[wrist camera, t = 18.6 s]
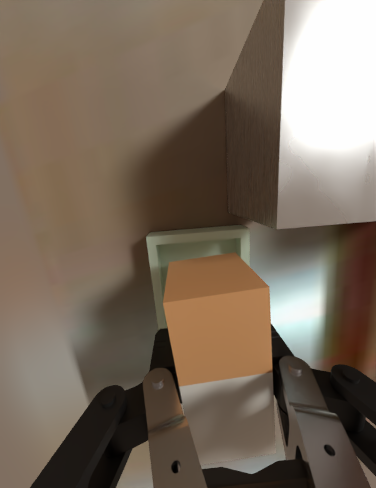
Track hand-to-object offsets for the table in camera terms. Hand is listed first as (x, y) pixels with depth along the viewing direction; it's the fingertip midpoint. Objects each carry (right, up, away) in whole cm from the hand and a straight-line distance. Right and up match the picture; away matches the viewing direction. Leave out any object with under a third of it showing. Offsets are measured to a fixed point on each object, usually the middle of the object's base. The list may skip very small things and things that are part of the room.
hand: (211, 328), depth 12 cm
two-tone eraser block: (0, 0, 0) cm, 0 cm away
